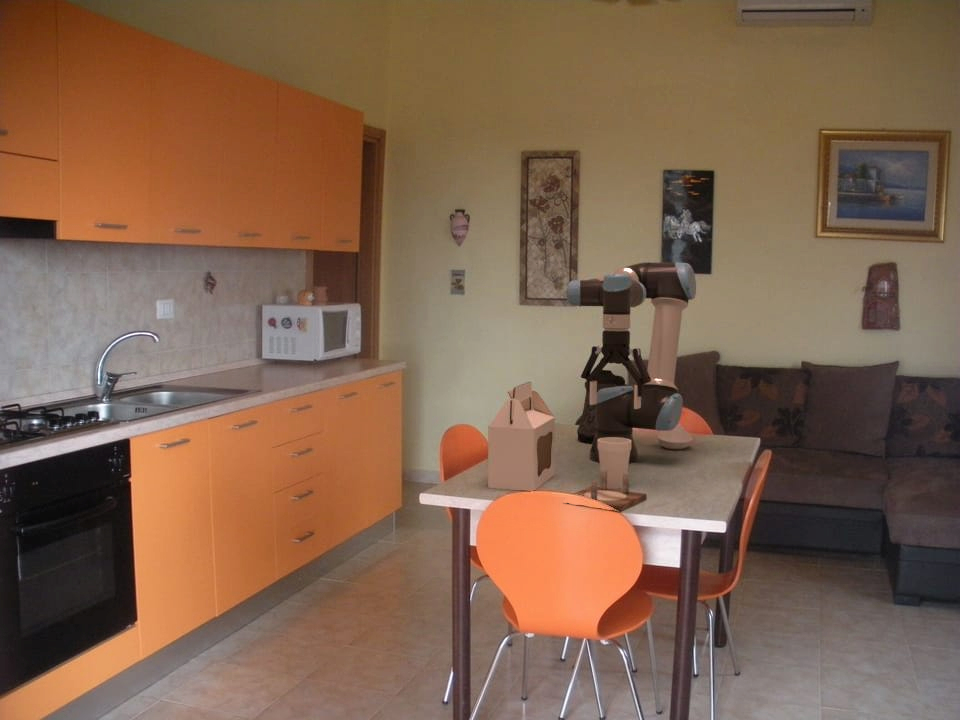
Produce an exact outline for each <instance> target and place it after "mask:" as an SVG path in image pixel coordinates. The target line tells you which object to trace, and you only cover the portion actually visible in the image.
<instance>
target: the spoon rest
mask: <svg viewBox="0 0 960 720" xmlns="http://www.w3.org/2000/svg"><path fill="white" fill-rule="evenodd" d="M656 440H657V441H658V443H659V444H660V445H661V446H662V447H664V448H665V449H668V450H675V449H676V450H678V449H679V450H684V449H686V448H688V447H689V446H690V445H691V443H692V442H693V437H692V435H691V434H690V433H689V432H688V431H687V430H685V428H684V427H683V426H682V424H680V422H678V424H677V426H676V427H675V428H674V429H673V430H670V431H662V430H661V431H659V433H658V435H657V437H656ZM676 450H675V451H676Z"/></svg>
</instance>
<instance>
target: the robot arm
mask: <svg viewBox="0 0 960 720" xmlns="http://www.w3.org/2000/svg"><path fill="white" fill-rule="evenodd" d="M696 281H697V280H696V275H695V271H694V269H693V267H692V265H691V264H689V263H688V262H678V261H674V262H646V261H645V262H639V263H635V264H630V265H627V266H624V267H620V268H617V270H614V272H613V273H606V274H605V275H602V276H601V275H600V276H597V277H595V278H590V279H584V280H583V279H576V280H573V279H572V280H571V281H569V283H567V287H566V295H565V296H566V300H567V302H568V304H569V306H571V307H572V306H573V307H574V306H576V307H602V309H603V310H602V328H603V331H602V337H601V338H602V340H601V341H602V346H601V347H600V346H599V345H595V346H594V345H593V346H592V347H591V350H590V351H591V353H590V356H589V358H588V360H587V362H586V364H585V366H584V368H583V371H582V373H581V375H580V377H581V379H584V380H585V381H587V391H588V392H590V405H593V404H596V435H595V438H594V441H593V444H591V447H590V450H589V459H590V460H592V461H594V462H598V463H600V461H599V452H598V449H597V444H598V439H600V438H606V437H618V438H626V439H630V440H631V450H630V456H629V463H634V462H636V461H638V459H639V458H638V456H639V453H638V448H637V447H636V443H635V440H634V434H633V432H634V431H633V429H639V430H640V429H642V430H653V431H658V432H661V431H670V430H673V429H674V428H675V427H676V426H677V424H678V423H680V420H681V416H682V414H683V402H684V401H683V396H682V395H681V394H679V389H678V387H677V386H676V385H675V376H676V367H677V361H678V360H677V358H678V351H679V345H680V344H679V342H680V336H681V335H680V333H681V327H682V325H681V324H682V318H683V317H682V316H683V311H684V310H685V309H687V308H688V307H689V301H691V300H694V299H695V298H696V294H697V282H696ZM646 299H650V303H651V304H652V306H654V315H653V324H652V331H651V339H650V347H649V355H648V363H647V367H646V364H645V362H644V360H643V358H642V352H641V348H639V347H637V348H631V347H630V344H631V332H630V329H631V308H636V307H638V306H640V305H642V304H643V303H644V301H646ZM601 354H602V356H603V357H602V358H601V359H600V360H599V362H598V363H597V364H596V366H595V363H596V362H597V360H598V358H599V355H601ZM630 355H631V356H632V358H633V361H634V363H635V366H636V367H635V366H634V363H632V362H633V361H632V360H631V358H629V356H630ZM608 364H616V365H619V364H621V365H622V366H624V367H625V369H626V370H627V371H628V373H629V374H630V375H631V377H632V379H633V380H634V382H635V383H636V384H634V385H633V386H632V385H629V386H617V387H609V388H603V389H600V390H599V391H598V392H597V381H593V380H595V378H596V377H597V375H598V374H599V373H600V372H601V371H602V370H604V368H605V367H606V366H607V365H608ZM594 366H595V367H594Z"/></svg>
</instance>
